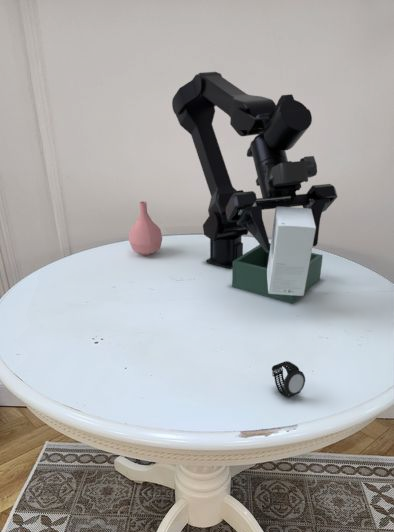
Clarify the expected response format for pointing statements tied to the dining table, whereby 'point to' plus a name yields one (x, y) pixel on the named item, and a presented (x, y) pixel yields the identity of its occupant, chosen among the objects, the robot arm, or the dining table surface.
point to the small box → (290, 250)
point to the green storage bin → (255, 273)
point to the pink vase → (145, 233)
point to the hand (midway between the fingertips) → (291, 248)
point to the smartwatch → (288, 379)
